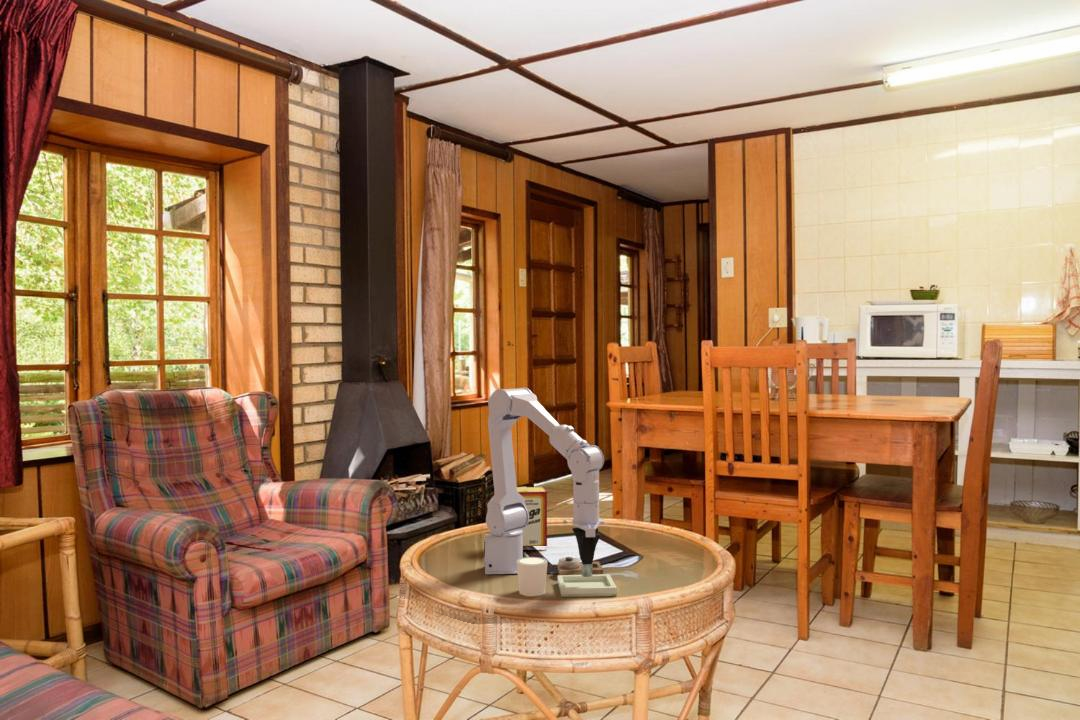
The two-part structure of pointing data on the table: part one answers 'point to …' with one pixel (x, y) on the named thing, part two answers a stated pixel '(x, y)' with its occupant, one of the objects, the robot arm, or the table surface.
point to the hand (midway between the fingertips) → (586, 562)
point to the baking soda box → (535, 515)
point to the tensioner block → (576, 567)
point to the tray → (586, 585)
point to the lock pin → (586, 570)
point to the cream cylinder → (532, 575)
